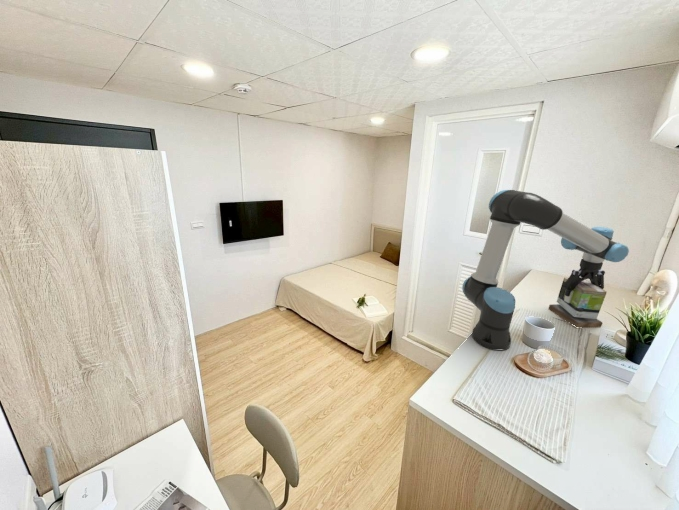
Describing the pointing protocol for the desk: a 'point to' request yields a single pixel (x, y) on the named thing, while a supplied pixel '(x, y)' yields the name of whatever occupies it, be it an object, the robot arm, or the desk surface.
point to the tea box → (583, 300)
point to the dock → (574, 318)
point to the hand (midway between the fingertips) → (578, 301)
